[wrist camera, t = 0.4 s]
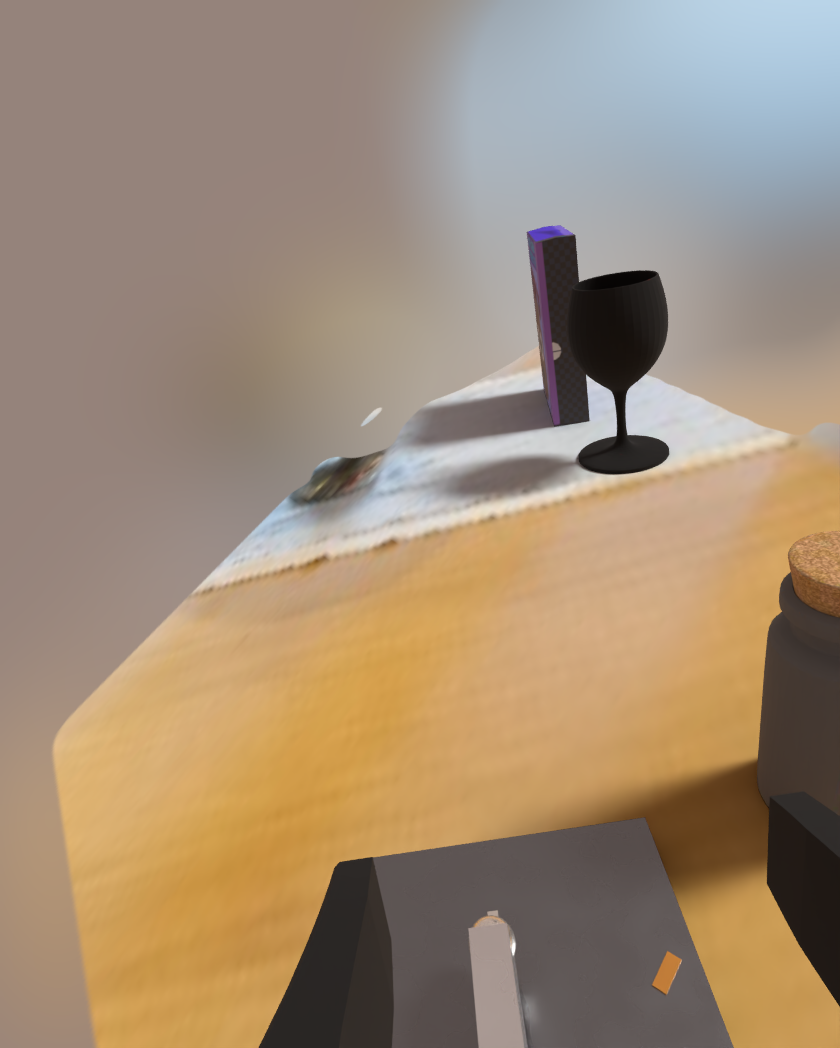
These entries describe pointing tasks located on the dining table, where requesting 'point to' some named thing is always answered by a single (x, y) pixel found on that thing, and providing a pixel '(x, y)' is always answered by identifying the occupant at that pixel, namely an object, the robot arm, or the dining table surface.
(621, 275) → the wine glass
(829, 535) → the bottle
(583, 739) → the dining table surface
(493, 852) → the lever base plate
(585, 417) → the cereal box
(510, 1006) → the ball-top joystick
